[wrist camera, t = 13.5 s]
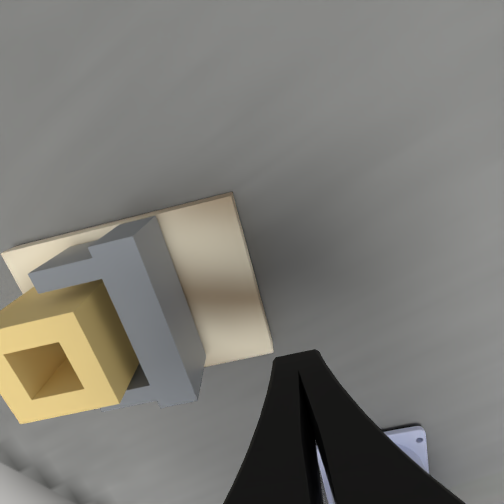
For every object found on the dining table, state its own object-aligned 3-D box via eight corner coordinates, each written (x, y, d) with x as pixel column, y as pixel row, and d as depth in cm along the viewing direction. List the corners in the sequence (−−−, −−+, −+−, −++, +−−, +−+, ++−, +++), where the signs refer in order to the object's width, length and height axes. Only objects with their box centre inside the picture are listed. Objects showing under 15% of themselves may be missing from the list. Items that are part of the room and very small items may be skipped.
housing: (206, 355, 20) (197, 400, 16) (128, 372, 20) (105, 419, 17) (155, 215, 17) (132, 236, 13) (65, 238, 17) (21, 263, 14)
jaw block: (150, 338, 20) (119, 403, 15) (74, 355, 20) (20, 424, 15) (119, 265, 18) (73, 311, 13) (36, 284, 18) (-38, 337, 14)
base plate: (272, 340, 21) (276, 381, 18) (86, 380, 22) (56, 426, 19) (232, 191, 18) (227, 206, 14) (15, 246, 19) (-38, 272, 15)
